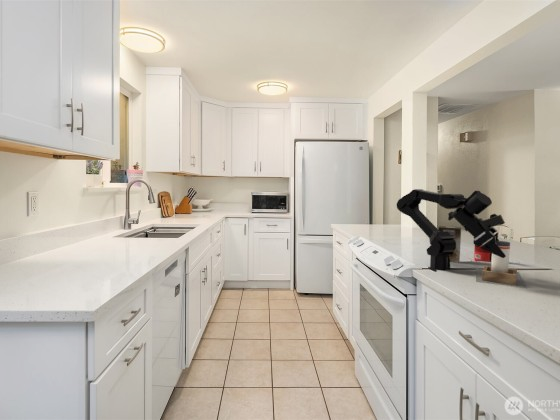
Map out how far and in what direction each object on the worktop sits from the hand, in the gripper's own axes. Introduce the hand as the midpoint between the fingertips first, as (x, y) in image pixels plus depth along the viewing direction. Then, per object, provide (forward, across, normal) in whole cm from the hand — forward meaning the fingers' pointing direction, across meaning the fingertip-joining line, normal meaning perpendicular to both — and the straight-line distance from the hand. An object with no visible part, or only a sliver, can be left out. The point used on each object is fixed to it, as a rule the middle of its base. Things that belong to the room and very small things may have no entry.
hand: (505, 255), depth 108 cm
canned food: (+1, +35, +13) cm, 37 cm away
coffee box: (-8, +24, +22) cm, 34 cm away
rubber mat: (+6, +5, +8) cm, 11 cm away
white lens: (+5, 0, +7) cm, 9 cm away
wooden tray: (+5, 0, +7) cm, 9 cm away
